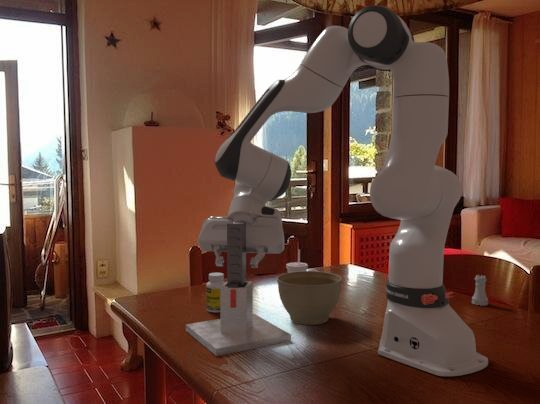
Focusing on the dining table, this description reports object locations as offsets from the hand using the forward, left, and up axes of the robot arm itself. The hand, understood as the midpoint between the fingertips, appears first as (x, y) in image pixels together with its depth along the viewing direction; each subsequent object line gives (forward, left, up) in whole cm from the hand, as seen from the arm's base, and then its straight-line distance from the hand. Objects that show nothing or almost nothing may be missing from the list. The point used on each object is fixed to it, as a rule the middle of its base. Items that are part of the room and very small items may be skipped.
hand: (236, 265), depth 116 cm
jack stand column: (0, 0, -14) cm, 14 cm away
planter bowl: (+2, -21, -17) cm, 27 cm away
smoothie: (+22, -30, -17) cm, 41 cm away
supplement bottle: (+21, -4, -17) cm, 28 cm away
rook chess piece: (-9, -71, -17) cm, 74 cm away
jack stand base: (0, 0, -16) cm, 16 cm away
